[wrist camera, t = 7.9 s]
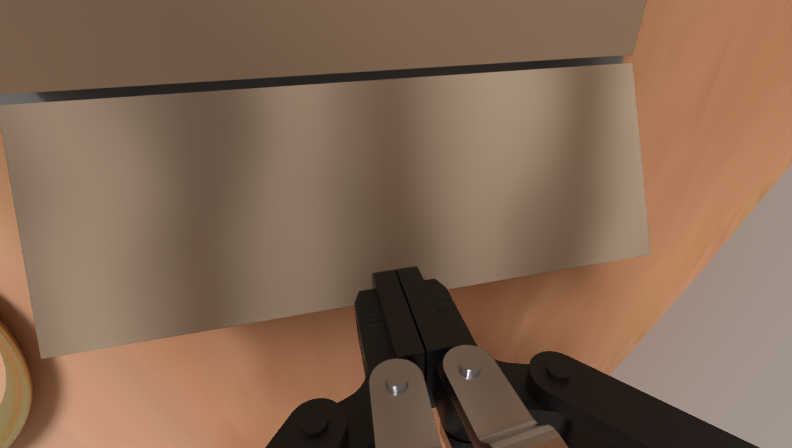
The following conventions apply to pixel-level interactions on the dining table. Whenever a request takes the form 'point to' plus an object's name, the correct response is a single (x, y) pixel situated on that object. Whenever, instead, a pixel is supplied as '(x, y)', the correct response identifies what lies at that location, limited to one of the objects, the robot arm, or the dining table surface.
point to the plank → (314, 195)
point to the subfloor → (291, 42)
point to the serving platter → (14, 389)
